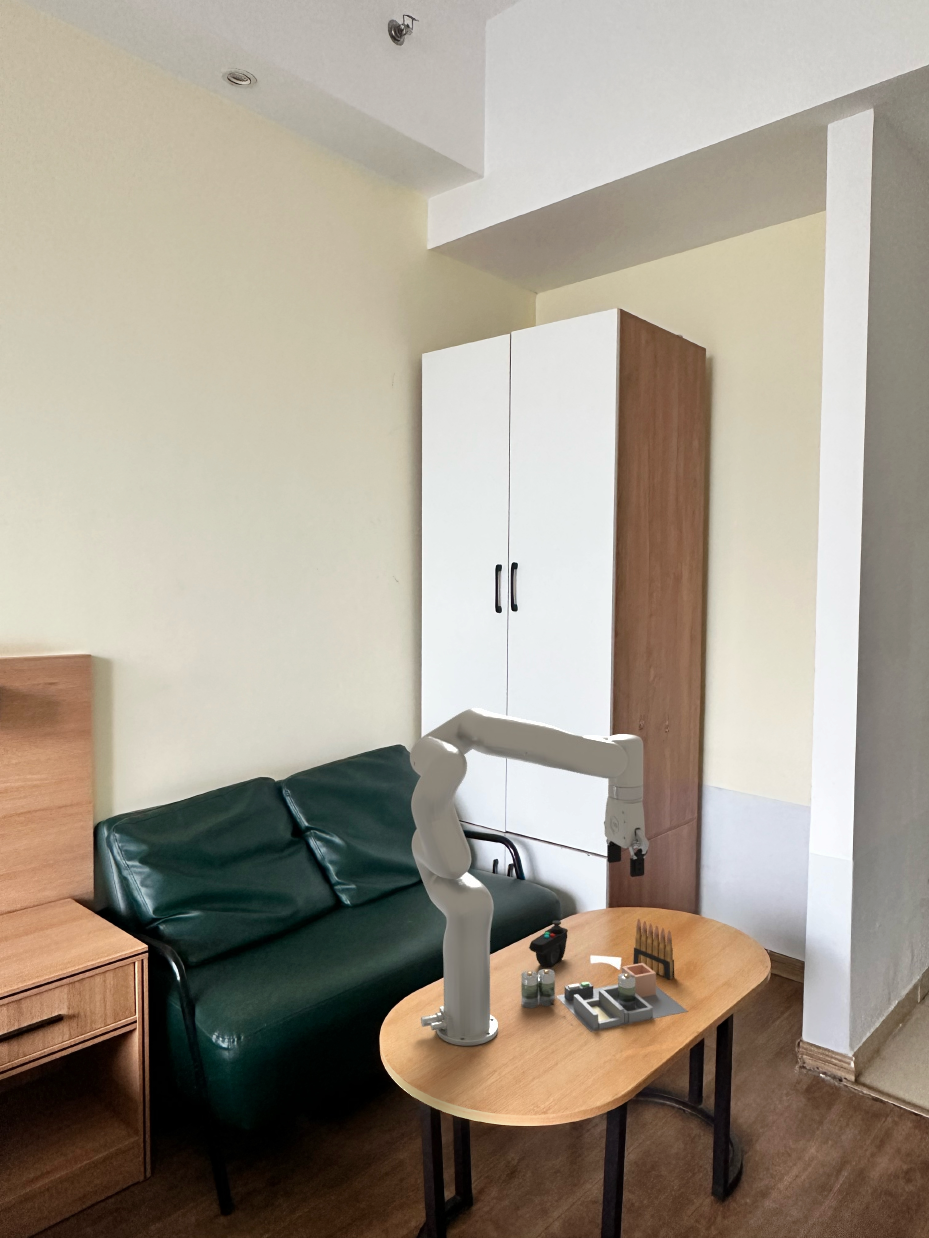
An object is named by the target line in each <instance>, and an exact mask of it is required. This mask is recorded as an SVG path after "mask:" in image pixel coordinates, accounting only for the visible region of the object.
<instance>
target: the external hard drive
mask: <svg viewBox="0 0 929 1238" xmlns="http://www.w3.org/2000/svg"><path fill="white" fill-rule="evenodd" d="M589 956H590V958H589V959H590V964H598V963H603V964H608V965H610V966H613V967H615V968H616V969H617V970H619V971H620V970H621V968H622V966H621V965H622V957H617V956H606V955H605V956H603V955H589Z"/></svg>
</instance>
